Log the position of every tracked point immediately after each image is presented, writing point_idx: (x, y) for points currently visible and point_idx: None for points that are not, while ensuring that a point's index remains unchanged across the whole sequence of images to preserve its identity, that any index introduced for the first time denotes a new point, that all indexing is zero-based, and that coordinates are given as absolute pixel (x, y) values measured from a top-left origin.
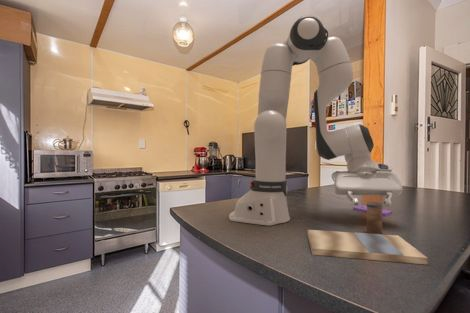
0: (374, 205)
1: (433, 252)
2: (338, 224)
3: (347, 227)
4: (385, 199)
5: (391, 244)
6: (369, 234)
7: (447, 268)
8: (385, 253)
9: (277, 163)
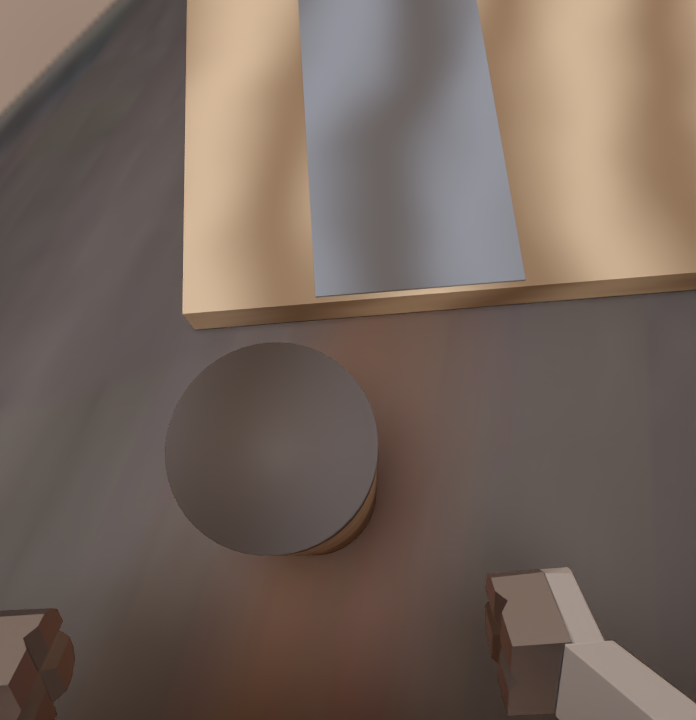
0: (300, 349)
1: (69, 187)
2: None
3: None
4: (2, 682)
5: (308, 110)
6: (403, 265)
7: (126, 16)
8: None
9: None
